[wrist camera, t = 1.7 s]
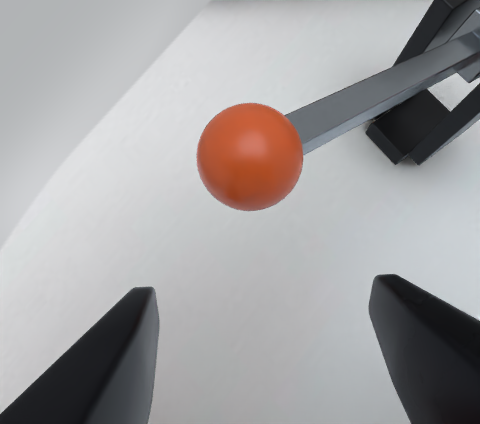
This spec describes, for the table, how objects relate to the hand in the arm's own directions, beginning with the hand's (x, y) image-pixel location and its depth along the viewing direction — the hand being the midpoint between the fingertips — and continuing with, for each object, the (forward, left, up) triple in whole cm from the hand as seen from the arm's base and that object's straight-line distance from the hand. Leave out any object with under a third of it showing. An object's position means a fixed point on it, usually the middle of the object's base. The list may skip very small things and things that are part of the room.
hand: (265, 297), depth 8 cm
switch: (+9, +3, -5) cm, 11 cm away
